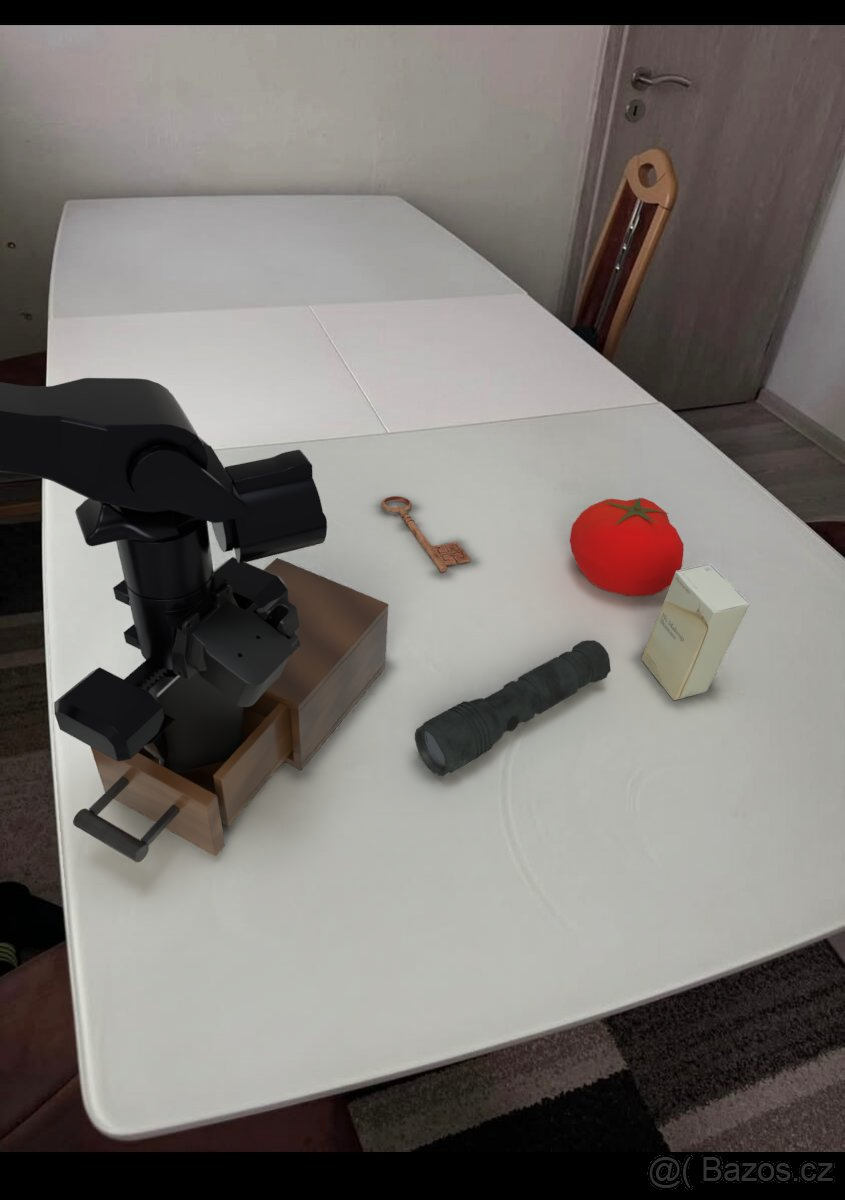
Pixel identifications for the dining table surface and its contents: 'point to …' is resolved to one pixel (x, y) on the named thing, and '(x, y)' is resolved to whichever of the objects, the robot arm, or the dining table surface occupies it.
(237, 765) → the drawer
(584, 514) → the tomato
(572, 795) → the dining table surface
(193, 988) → the dining table surface
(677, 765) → the dining table surface
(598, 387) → the dining table surface
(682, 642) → the cosmetic box
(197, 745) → the battery charger
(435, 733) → the flashlight
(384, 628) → the cabinet
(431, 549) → the key
